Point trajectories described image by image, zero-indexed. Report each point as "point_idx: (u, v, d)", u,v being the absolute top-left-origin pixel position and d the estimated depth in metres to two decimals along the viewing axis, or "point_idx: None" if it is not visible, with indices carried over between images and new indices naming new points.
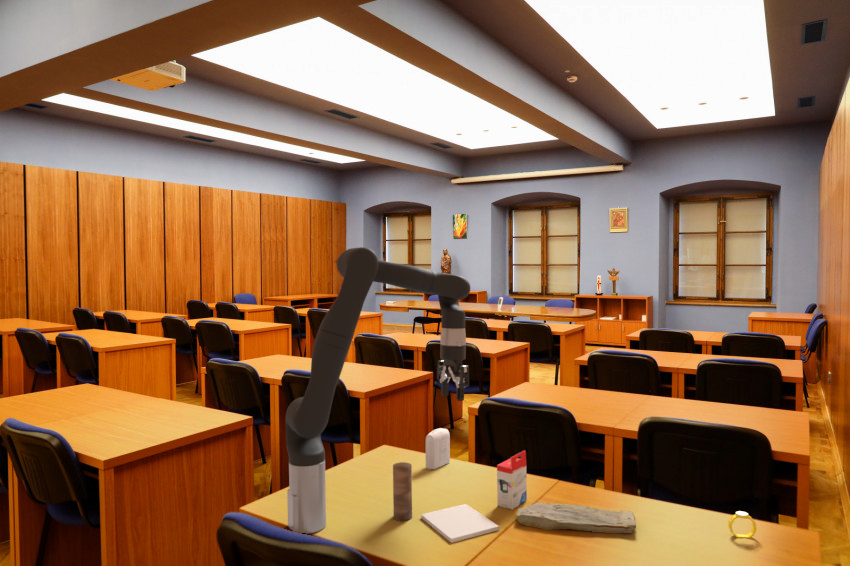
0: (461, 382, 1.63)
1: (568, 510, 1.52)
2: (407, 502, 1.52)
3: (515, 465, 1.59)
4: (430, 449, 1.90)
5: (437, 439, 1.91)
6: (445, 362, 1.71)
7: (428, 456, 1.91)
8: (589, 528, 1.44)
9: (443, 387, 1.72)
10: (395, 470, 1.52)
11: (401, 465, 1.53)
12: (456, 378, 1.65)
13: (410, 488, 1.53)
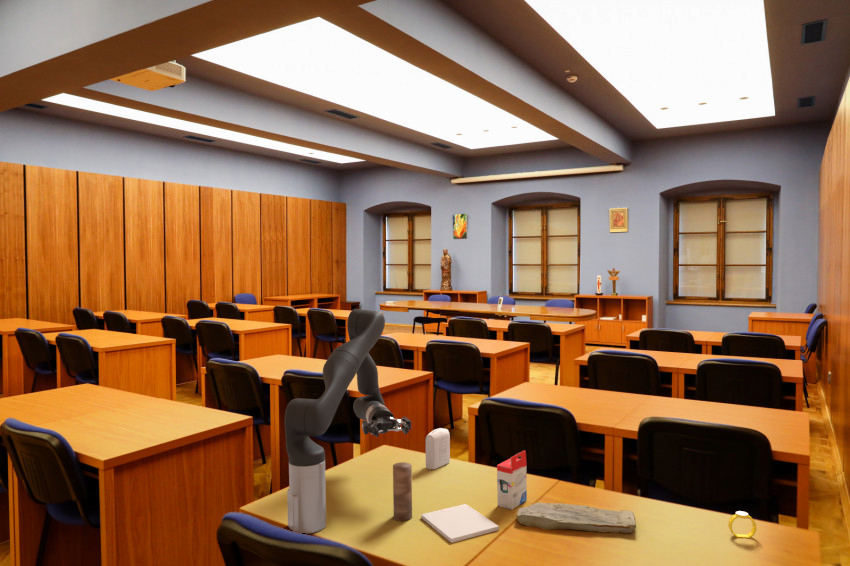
0: (409, 420, 1.72)
1: (568, 510, 1.52)
2: (407, 502, 1.52)
3: (515, 465, 1.59)
4: (430, 449, 1.90)
5: (437, 439, 1.91)
6: (376, 419, 1.73)
7: (428, 456, 1.91)
8: (589, 528, 1.44)
9: None
10: (395, 470, 1.52)
11: (401, 465, 1.53)
12: None
13: (410, 488, 1.53)
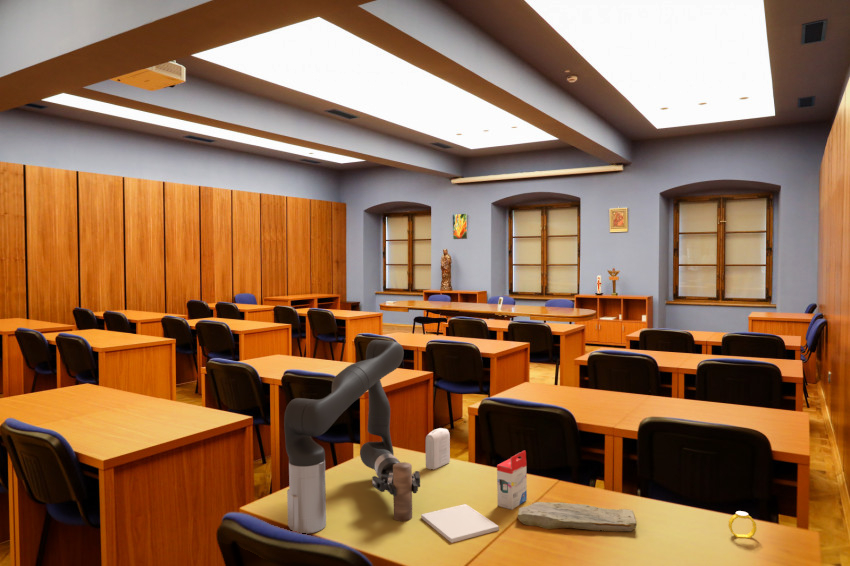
0: (418, 477, 1.58)
1: (568, 509, 1.53)
2: (407, 502, 1.52)
3: (515, 465, 1.59)
4: (430, 449, 1.90)
5: (437, 439, 1.91)
6: (385, 473, 1.61)
7: (428, 456, 1.91)
8: (590, 526, 1.45)
9: None
10: (395, 470, 1.52)
11: (401, 465, 1.53)
12: None
13: (410, 488, 1.53)
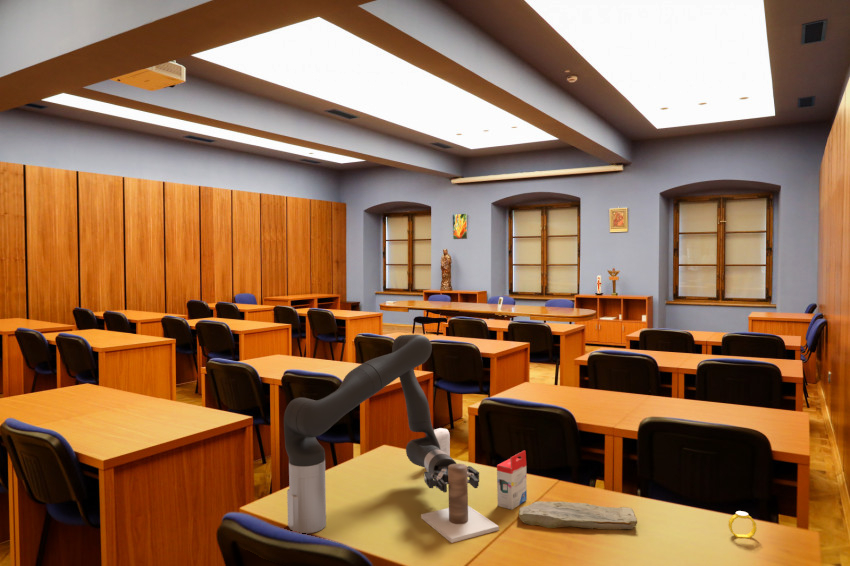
0: (476, 471, 1.55)
1: (569, 508, 1.54)
2: (464, 505, 1.47)
3: (515, 465, 1.59)
4: None
5: (437, 439, 1.91)
6: (439, 470, 1.57)
7: None
8: (591, 525, 1.45)
9: None
10: (451, 472, 1.48)
11: (457, 467, 1.49)
12: None
13: (466, 490, 1.48)
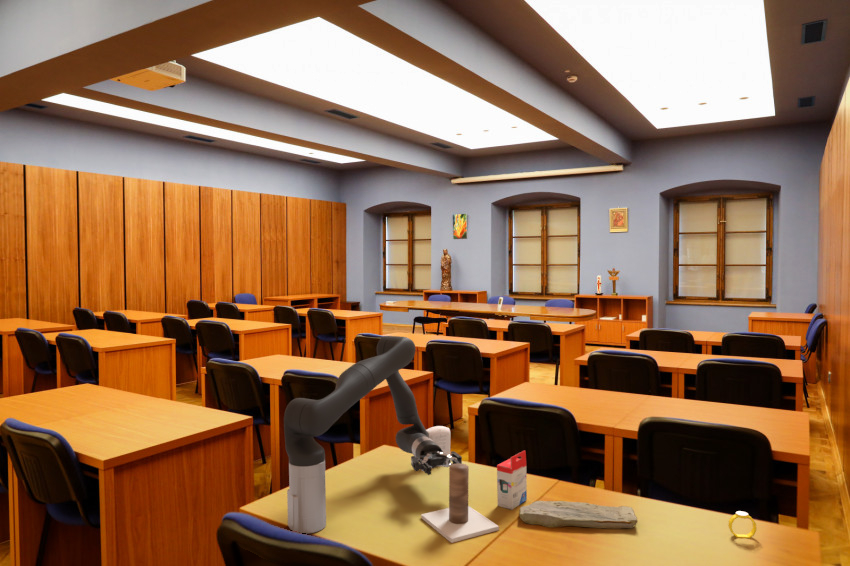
0: (459, 456, 1.67)
1: (569, 507, 1.54)
2: (464, 505, 1.47)
3: (515, 465, 1.59)
4: None
5: (433, 436, 1.93)
6: (425, 455, 1.69)
7: None
8: (592, 524, 1.46)
9: None
10: (452, 471, 1.48)
11: (458, 467, 1.49)
12: None
13: (467, 490, 1.48)
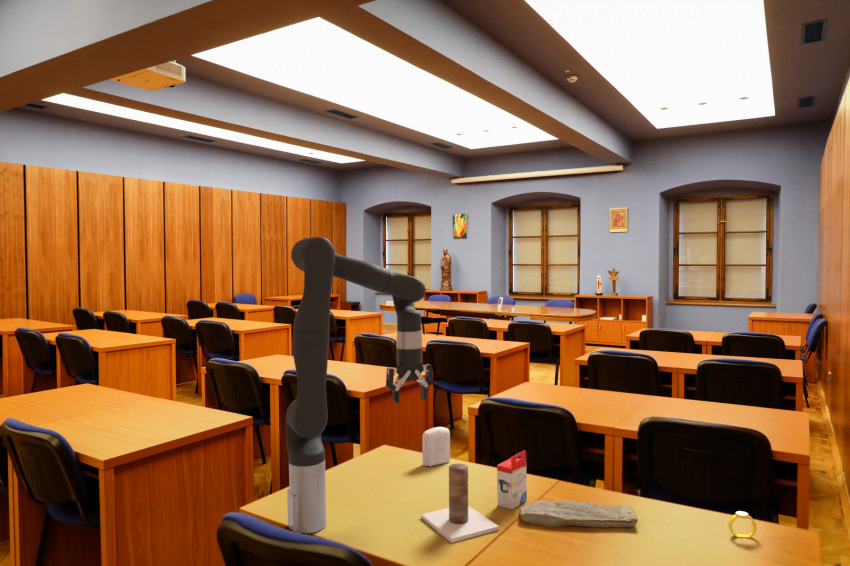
0: (431, 380, 1.69)
1: (569, 507, 1.54)
2: (464, 505, 1.47)
3: (515, 465, 1.59)
4: (425, 447, 1.93)
5: (432, 438, 1.93)
6: (404, 367, 1.65)
7: (423, 453, 1.94)
8: (592, 523, 1.46)
9: None
10: (451, 472, 1.47)
11: (458, 467, 1.48)
12: None
13: (467, 490, 1.48)
